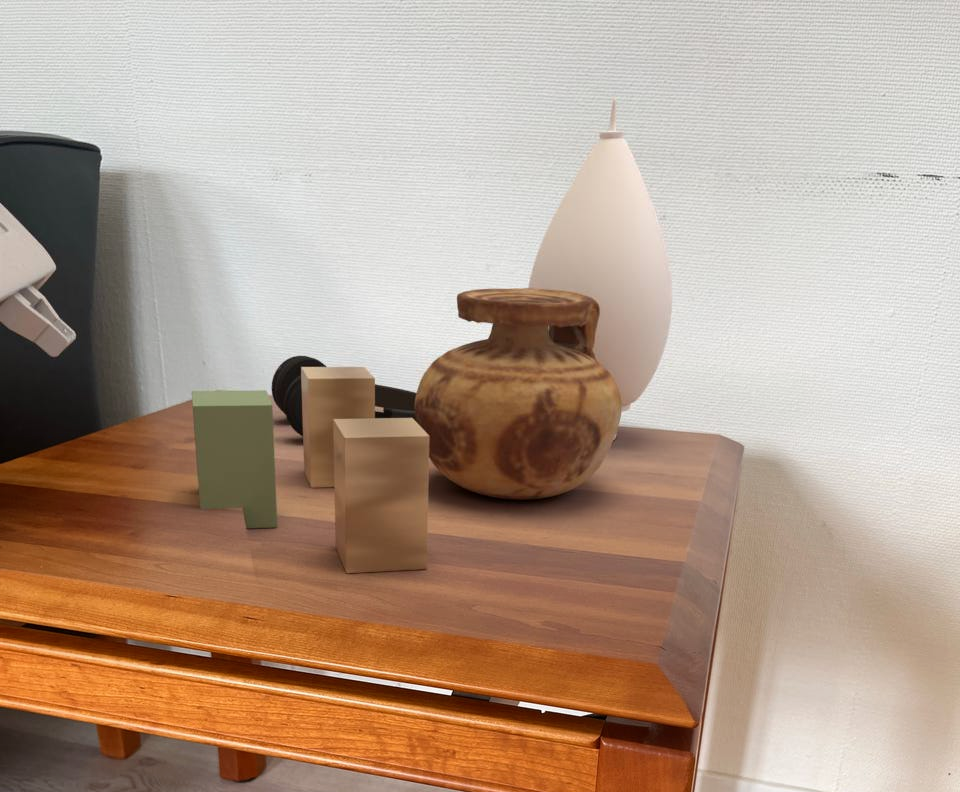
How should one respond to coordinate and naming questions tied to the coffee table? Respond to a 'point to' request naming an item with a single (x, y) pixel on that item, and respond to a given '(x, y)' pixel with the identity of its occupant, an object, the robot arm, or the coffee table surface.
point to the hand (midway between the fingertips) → (66, 347)
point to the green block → (236, 453)
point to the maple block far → (331, 413)
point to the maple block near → (381, 494)
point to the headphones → (289, 371)
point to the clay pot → (521, 396)
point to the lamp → (612, 262)
